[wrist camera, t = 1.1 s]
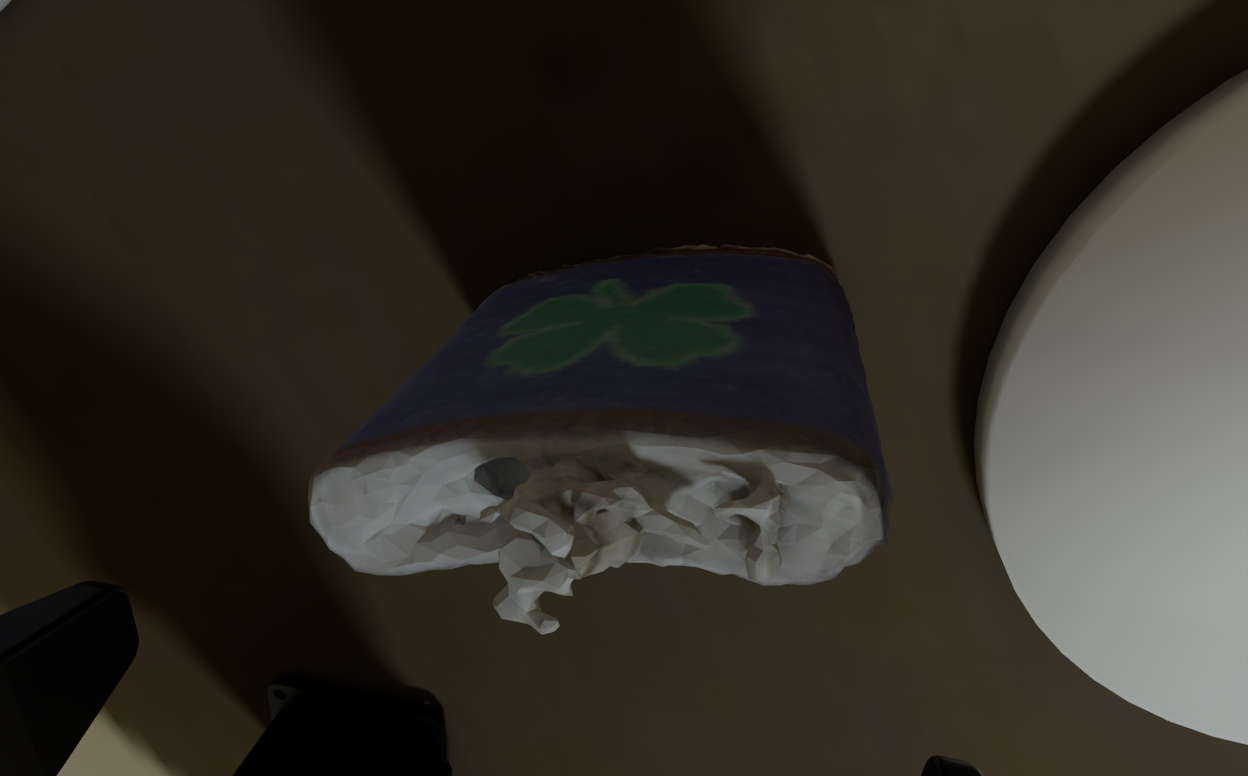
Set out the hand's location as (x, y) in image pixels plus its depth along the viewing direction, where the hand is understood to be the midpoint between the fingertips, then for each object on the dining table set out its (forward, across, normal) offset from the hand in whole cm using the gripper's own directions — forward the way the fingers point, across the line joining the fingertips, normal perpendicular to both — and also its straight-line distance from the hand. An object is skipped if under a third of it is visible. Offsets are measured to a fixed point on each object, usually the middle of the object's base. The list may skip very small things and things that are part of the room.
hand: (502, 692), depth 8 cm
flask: (+12, 0, 0) cm, 13 cm away
